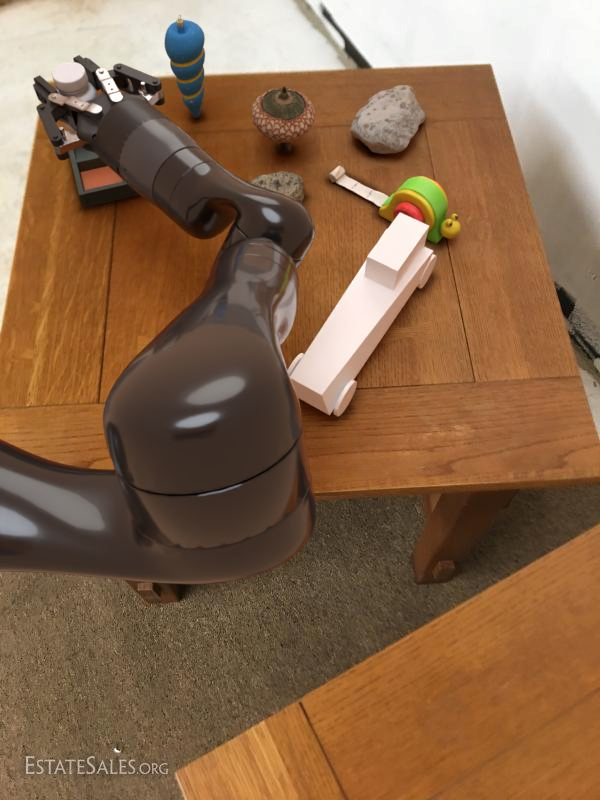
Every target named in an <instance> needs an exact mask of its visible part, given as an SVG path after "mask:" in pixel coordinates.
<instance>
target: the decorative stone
mask: <svg viewBox="0 0 600 800" xmlns="http://www.w3.org/2000/svg"><path fill="white" fill-rule="evenodd" d="M426 117H427V116H426V113H425V111H424V110H423V109H422V107H421V105H420V104H419V102H418V100H417V99H416V95H415V90H414V88H413V87H412V86H411V85H408V84H407V85H406V84H405V85H402V84H399V85H396V86H394V87H392V88H390V89H386V90H385V89H384V90H381V91H378V92H376V93H375V94H374V95H373V96H371V97H370V98H369V99H367V101H366V104H365V105H364V106H362V107H361V108H359V110H358V111H357V113H356V114H355V117H354V118H353V121H352V122H351V126H350V134H351V135H352V136H353V138H355V139H357V140H359V141H360V142H361V143H362V144H363V145H364V146H365V147H367V148H368V149H369V150H370V152H372V153H376V154H380V155H382V154H383V155H387V154H396V153H401V152H403V151H405V150H406V148H407V147H408V145H409V144H410V142H411V139H412V138H413V137H415V135H416V133H417V132H418V130H419V126H420V125H421V124H423V123H424V122H425V120H426Z"/></svg>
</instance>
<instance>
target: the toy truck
mask: <svg viewBox="0 0 600 800" xmlns="http://www.w3.org/2000/svg"><path fill="white" fill-rule="evenodd" d="M428 230H429V225H426V224H424V223H422V222H420V221H418V220H416V219H413V218H411V217H409V216H407V215H405V214H402V213H399V214H398V216H397V217H396V218H395V220H394V221H393V222H391V223H390V225H389V226H388V228H386V229H385V230H384V232H383V233H382V235H381V236H380V238H379V239H378V241H377V242H376V243H375V245H374V247H373V248H372V249H371V250H370V252H369V253H368V255H367V257H366V259H365V261H364V262H363V264H362V266H361V267H360V269H359V270H358V272H357V273H356V275H355V276H354V278H353V279H352V280H351V282H350V284H349V285H348V287H347V288H346V290H345V291H344V293H343V294H342V296H341V298H340V299H339V301H338V302H337V304H336V306H335V307H334V308H333V310H332V312H331V313H330V314H329V315H328V317H327V319H326V320H325V322H324V323H323V325H322V326H321V328H320V330H319V331H318V333H317V334H316V336H315V337H314V339H313V340H312V341H311V344H310V345H309V346H308V348H307V349H306V351H305V353H303V352H301V353H298V355H297V356H296V357H295V358H294V359H293V361H292V362H291V364H290V365H289V367H288V368H287V371H288V374H289V376H290V379H291V382H292V384H293V387H294V389H295V392H296V394H297V397H298V400H301V401H303V402H304V403H306V404H308V405H310V406H312V407H314V408H315V409H318V410H319V411H321V412H323V413H325V414H326V415H328V416H331V414H332V413H333V415H335V416H336V417H340V416H341V415H342V414H343V413H344V412H345V410H346V409H347V408H348V406H349V404H350V402H351V401H352V399H353V397H354V395H355V392H356V389H357V386H358V382H357V380H355V379H356V377H357V376H358V374H359V373H360V372H361V370H362V368H363V367H364V366H365V364H366V362H367V361H368V359H369V358H370V356H371V355H372V354H373V352H374V351H375V349H376V348H377V346H378V344H379V343H380V342H381V340H382V339H383V337H384V335H386V333H387V332H388V330H389V328H390V327H391V325H392V324H393V322H394V321H395V319H396V318H397V316H398V315H399V314H400V312H401V311H402V309H403V308H404V306H405V305H406V303H407V302H408V300H409V299H410V298H411V296H412V295H413V293H414V291H415V290H416V289H417V288H419V289H423V287H425V285H426V283H428V281H429V279H430V277H431V275H432V273H433V271H434V268H435V267H436V263H437V261H438V256H437V255H436V254H434V250H433V249H431V248H430V247H429V248H428V247H427V246H425V245H426V241H427V239H426V237H427V233H428Z"/></svg>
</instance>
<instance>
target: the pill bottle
mask: <svg viewBox="0 0 600 800" xmlns="http://www.w3.org/2000/svg"><path fill="white" fill-rule="evenodd" d="M51 76H52V79H53V84H54V86H55V89H56V90H57V91H58V94H60V95H63V96H65V97H67V98H70V97H71V96H74V97H76V98H78V99H81V100H83V101H85V102H86V101H89V100H92V99H94V98H96V97H97V96H98V95H99V94H98V93H97V92H98V91H97V90H96V89H95V88H94V86H93V85H92V84H91V83H89V82H88V77H87V74H86V71H85V69H84V67H83V66H82V65H81V64H79V63H76V62H74V61H66V62H62V63H60V64H58V65H56V66H54V68H53V69H52V72H51ZM64 125H65V128H66V130H67V131H68V132H69V133H70V134H73V135H75V134H77V132H76V131H75V130H73V129H72V127H71V126H70V125H68V124H66V123H64Z"/></svg>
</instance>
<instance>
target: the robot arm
mask: <svg viewBox="0 0 600 800" xmlns="http://www.w3.org/2000/svg"><path fill="white" fill-rule="evenodd" d="M72 59H73V62H76V63H79V64H81V65H82V66H83V67H84V69H85V71H86V74H87V77H88V82H89V83H91V84H92V85H93V86H94V88H95V90H96V92H98V91H101V92H100V93H98V94H97V95H98V96H97V97H96V98H94V99H92V100H89V101H86V102H85V101H83V100H81V99H78V98H76V97H74V96H71V97H70V98H67V97H65V96H63V95H60V94H58V91H57V89H56V87H54V86H53V85H51V84H50V82H48V81H47V80H46V79H45V78H44V77H43V76H41V75H38V76H35V77H33V81H34V83H33V84H32V87H33V90H34V92H35V95H36V97H37V100H38V101H39V102H41V103H39V104H38V105H36V107H35V108H36V111H37V114H38V116H39V118H40V121H41V122H42V127H43V129H44V131H45V133H46V135H47V137H48V139H49V142H50V144H51V147H52V149H53V150H54V153H55V155H56V157H57V159H58V160H59V161H66V160H68V159H70V156H69V152H68V151H71V150H74V149H77V148H81V147H82V148H83V149H85V150H87V151H91V152H94V153H96V154H97V155H98V156H99V158H100V159H101V160H102V161H103V162H104V163H105V164H106V165H108V166H109V167H110V168H111V169H112V170H113V171H114V172H115V173H116V174H118V175H119V176H120V177H121V178H122V179H123V180H124V181H125V182H126V183H127V184H128V186H129V187H130V188H131V189H133V190H135V191H136V192H137V193H138V194H140V195H139V196H141V197H142V198H143V199H144V200H145V201H146V202H149V203H150V204H152V205H153V206H155V207H156V208H158V209H159V211H161V212H162V213H163V214H164V215H165V216H166V217H168V218H169V219H170V220H171V221H172V222H173V223H174V224H175V225H177V226H178V227H179V228H180V229H181V230H182V231H184V232H185V233H186V234H187V235H189V236H190V237H192V238H194V239H196V240H203V241H205V240H210V239H211V240H212V239H214V238H216V237H217V236H219V235H221V234H222V233H224V232H225V231H226V230H227V229H228V228H229V227H230V226H231V227H230V228H229V231H228V232H227V234H226V236H225V238H224V239H223V242H222V244H221V247H220V248H219V250H218V252H217V255H216V257H215V259H214V260H213V264H212V266H211V269H210V271H209V275H208V277H207V279H206V283H205V284H204V286H203V289H202V291H201V292H200V293H199V295H198V296H197V297H196V298H194V300H193V301H191V302H190V304H189V305H187V306H186V307H185V308H184V309H182V310H181V312H179V313H178V314H177V315H176V316H175V317H174V318H173V319H172V320H170V322H168V324H167V325H165V326H164V327H163V329H162V330H161V331H160V332H159V333H157V335H155V336H154V337H153V338H152V339H151V340H150V341H149V342H148V343H147V344H146V345H145V346H144V347H143V348H142V349H141V350H140V351H139V352H138V353H137V354H136V355H135V356H134V357H133V358H132V359H131V361H130V362H129V363H128V364H127V365H126V367H125V368H124V369H123V370H122V371H121V373H120V374H119V375H118V377H117V378H116V380H115V381H114V383H113V385H112V387H111V388H110V390H109V392H108V394H107V397H106V400H105V402H104V407H103V412H102V427H103V435H104V440H105V444H106V448H107V451H108V454H109V457H110V460H111V462H112V465H113V466H112V467H113V469H108V468H93V467H81V466H76V465H71V464H70V465H69V464H65V463H62V462H59V461H55V460H51V459H47V458H45V457H43V456H40V455H38V454H35V453H32V452H30V451H27V450H25V449H23V448H20V447H18V446H16V445H14V444H12V443H10V442H8V441H5V440H4V439H2V438H0V573H35V574H36V573H38V574H53V575H66V576H78V577H87V578H88V577H89V578H99V579H110V580H121V581H133V582H143V583H144V582H146V583H156V584H168V585H170V584H171V585H173V584H174V585H213V584H214V585H215V584H216V585H217V584H225V583H229V582H235V581H240V580H241V581H242V580H245V579H251V578H253V577H257V576H260V575H262V574H265V573H268V572H271V571H273V570H275V569H276V568H279V567H280V566H282V565H284V564H285V563H288V562H289V561H290V560H291V559H293V558H294V557H295V556H296V555H298V554H299V552H301V551H302V550H303V549H304V547H305V546H306V544H307V542H308V541H309V540H310V539H311V537H312V535H313V531H314V529H315V526H316V522H317V521H316V519H317V517H316V516H317V513H316V512H317V510H316V509H317V507H316V498H315V490H314V482H313V475H312V471H311V465H310V457H309V452H308V445H307V440H306V433H305V427H304V420H303V416H302V411H301V404H300V399H299V398H298V397H297V394H296V392H295V389H294V387H293V384H292V382H291V379H290V376H289V374H288V371H287V370H288V368H287V365H286V362H285V358H284V355H283V351H282V348H281V345H282V344H283V343H284V342H285V340H287V338H288V336H289V335H290V334H291V331H292V328H293V326H294V323H295V320H296V316H297V309H298V299H299V288H300V285H299V282H300V281H299V272H298V269H299V267H300V266H301V264H302V262H303V260H304V258H305V257H306V255H307V254H308V253H309V251H310V249H311V247H312V244H313V243H314V240H315V237H316V226H315V221H314V219H313V217H312V215H311V213H310V211H309V210H308V209H307V207H305V205H303V203H302V204H301V203H300V202H298V201H297V200H295V199H293V198H291V197H288V196H286V195H284V194H281V193H278V192H275V191H272V190H269V189H266V188H263V187H260V186H257V185H255V184H252V183H250V182H251V181H247V180H245V179H243V178H242V177H239V176H237V175H236V174H235V173H233V172H231V171H230V170H228V169H227V168H226V167H224V166H223V165H221V163H220V162H218V161H217V160H216V159H215V158H213V157H212V156H211V155H210V154H209V153H207V152H206V151H205V150H204V149H202V147H200V146H199V144H198V143H197V142H196V140H195V139H194V138H192V137H191V135H189V134H188V133H187V132H186V131H185V130H183V129H182V128H181V127H180V126H178V125H177V124H176V123H174V122H173V121H172V120H171V119H170V118H168V117H167V116H166V115H165V114H164V113H162V112H161V111H160V110H158V109H157V107H155V106H158V107H160V106H163V105H164V104H165V103H166V99H165V94H164V89H163V84H162V80H161V79H160V78H158V77H156V76H153V75H151V74H149V73H147V72H143V71H141V70H139V69H136V68H134V67H131V66H129V65H126V64H123V63H115V64H114V65H113V67H112V69H110V70H107V68H105V67H100V66H99V65H98V64H97V63H96V62H94V61H93V60H92V59H90V58H88V57H82V56H81V54H78V55H76V56H74V57H73V58H72ZM154 105H155V106H154ZM58 122H62V123H64V124H65V123H66V124H68V125H70V126H71V127H72V129H73V130H75V131H76V132H77V134H75V135H73V134H70V133H69V132H68V131H66V130H67V129H65V128H64V127H63V126H58V124H57V123H58Z"/></svg>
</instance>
